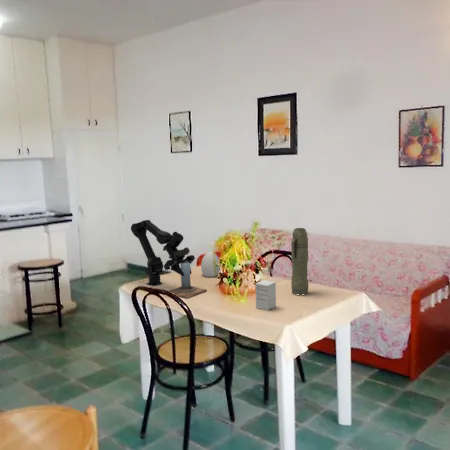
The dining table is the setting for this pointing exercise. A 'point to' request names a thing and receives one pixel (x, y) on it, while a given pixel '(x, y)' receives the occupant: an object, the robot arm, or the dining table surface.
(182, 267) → the sleeve
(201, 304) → the dining table surface
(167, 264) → the robot arm
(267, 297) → the grey drawer cabinet
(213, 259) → the decorative egg
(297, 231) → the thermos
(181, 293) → the collar board
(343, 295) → the dining table surface
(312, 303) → the dining table surface
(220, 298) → the dining table surface
